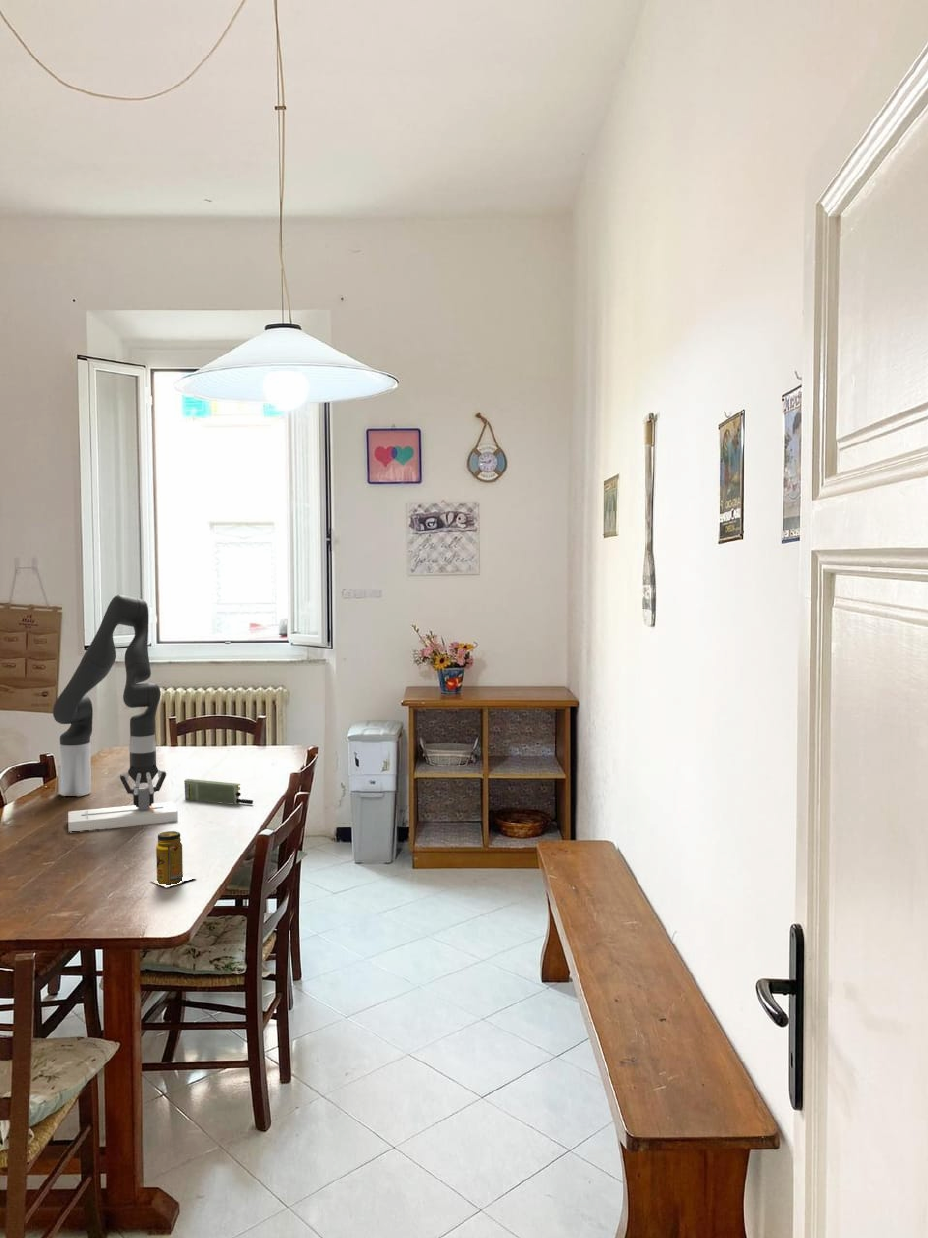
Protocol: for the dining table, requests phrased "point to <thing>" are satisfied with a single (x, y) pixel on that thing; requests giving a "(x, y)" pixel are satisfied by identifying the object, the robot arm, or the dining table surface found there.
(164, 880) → the condiment
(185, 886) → the dining table surface
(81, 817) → the console
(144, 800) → the block
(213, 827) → the dining table surface
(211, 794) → the handheld radio
